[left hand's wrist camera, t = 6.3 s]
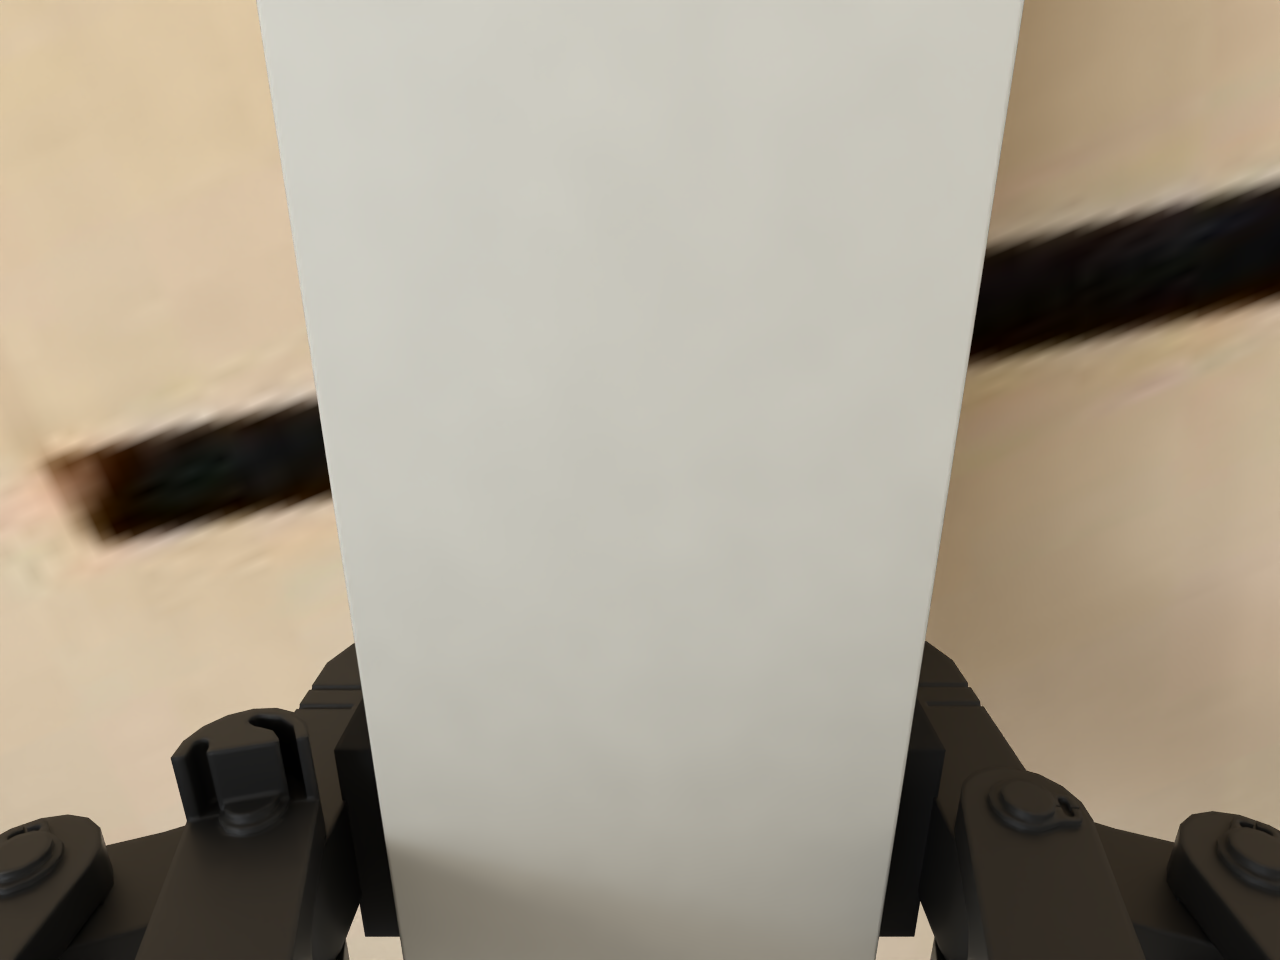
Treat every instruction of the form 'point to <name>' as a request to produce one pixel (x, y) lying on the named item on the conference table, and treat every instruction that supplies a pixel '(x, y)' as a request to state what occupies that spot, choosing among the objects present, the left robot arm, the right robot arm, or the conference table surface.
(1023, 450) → the conference table surface
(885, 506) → the bar
